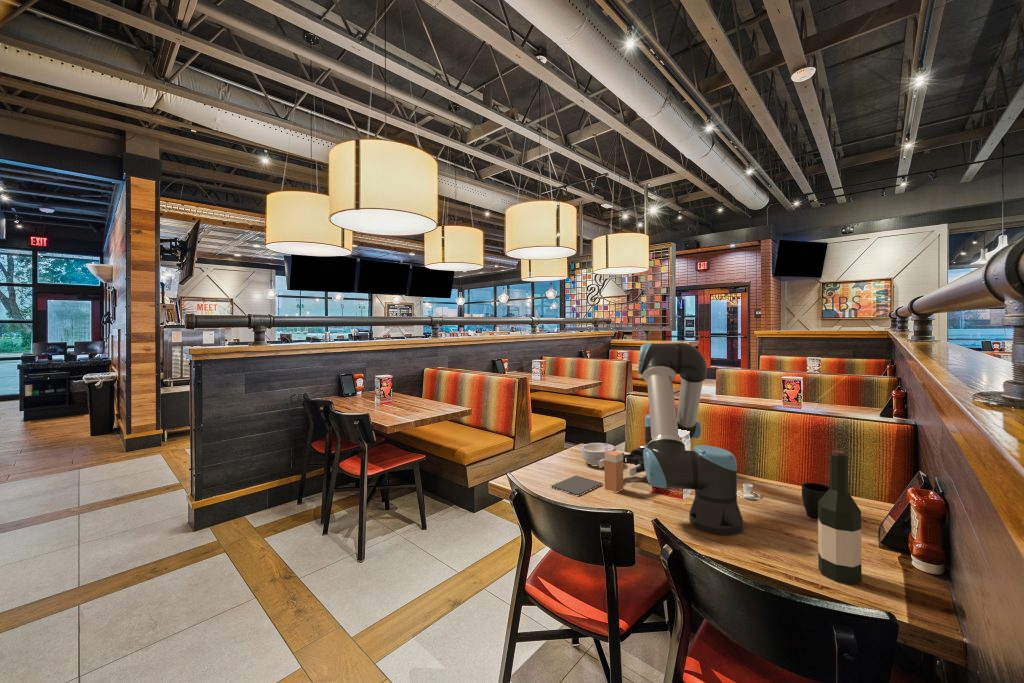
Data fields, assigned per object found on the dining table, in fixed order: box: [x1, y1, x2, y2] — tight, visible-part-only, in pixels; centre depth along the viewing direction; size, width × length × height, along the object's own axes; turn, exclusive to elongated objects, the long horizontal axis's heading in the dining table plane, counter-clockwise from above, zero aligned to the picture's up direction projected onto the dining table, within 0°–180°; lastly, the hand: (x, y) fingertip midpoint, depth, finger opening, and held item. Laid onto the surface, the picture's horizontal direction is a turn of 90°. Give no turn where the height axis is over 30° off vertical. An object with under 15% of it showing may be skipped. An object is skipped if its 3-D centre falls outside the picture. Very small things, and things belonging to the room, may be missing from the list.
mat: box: [550, 475, 604, 496], centre depth 164 cm, size 13×16×1 cm
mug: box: [801, 482, 830, 521], centre depth 131 cm, size 8×12×10 cm
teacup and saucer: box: [737, 482, 762, 500], centre depth 151 cm, size 9×8×4 cm
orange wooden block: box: [603, 450, 625, 492], centre depth 159 cm, size 5×5×14 cm
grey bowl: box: [580, 442, 617, 466], centre depth 190 cm, size 15×15×8 cm
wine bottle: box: [817, 449, 863, 586], centre depth 102 cm, size 8×8×30 cm
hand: (614, 468), depth 160 cm, fingers open, 13 cm apart
